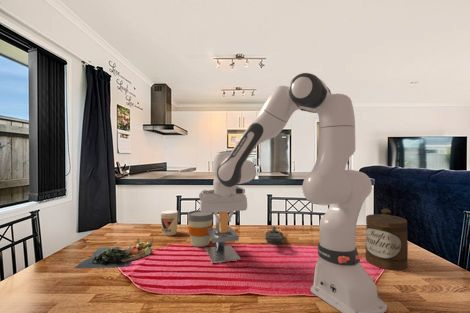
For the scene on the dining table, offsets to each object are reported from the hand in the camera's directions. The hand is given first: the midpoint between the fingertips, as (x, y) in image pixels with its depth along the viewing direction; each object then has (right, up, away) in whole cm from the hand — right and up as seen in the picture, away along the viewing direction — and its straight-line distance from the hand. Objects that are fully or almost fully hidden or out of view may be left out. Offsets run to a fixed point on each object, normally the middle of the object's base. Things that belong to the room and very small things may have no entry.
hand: (223, 221), depth 110 cm
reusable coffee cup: (-12, -15, +17) cm, 26 cm away
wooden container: (+67, -16, -4) cm, 69 cm away
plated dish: (-43, -16, +1) cm, 46 cm away
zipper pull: (+24, -15, +18) cm, 34 cm away
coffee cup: (-31, -15, +32) cm, 47 cm away
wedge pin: (0, -4, 0) cm, 4 cm away
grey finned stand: (-1, -15, +3) cm, 15 cm away
